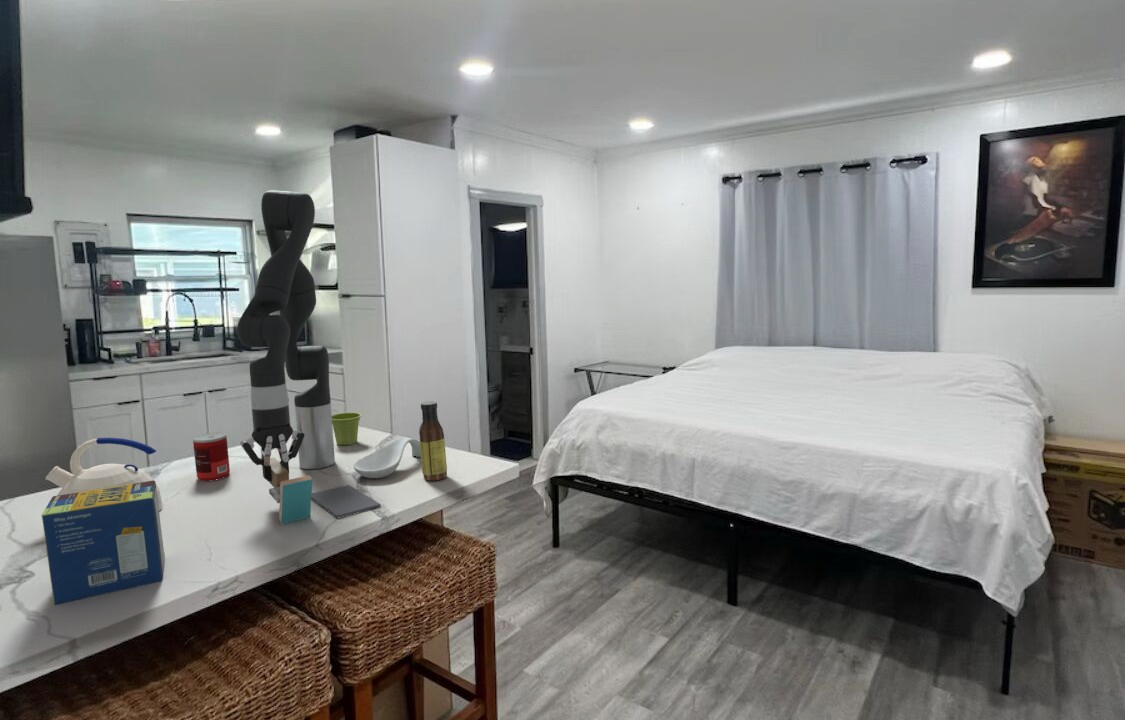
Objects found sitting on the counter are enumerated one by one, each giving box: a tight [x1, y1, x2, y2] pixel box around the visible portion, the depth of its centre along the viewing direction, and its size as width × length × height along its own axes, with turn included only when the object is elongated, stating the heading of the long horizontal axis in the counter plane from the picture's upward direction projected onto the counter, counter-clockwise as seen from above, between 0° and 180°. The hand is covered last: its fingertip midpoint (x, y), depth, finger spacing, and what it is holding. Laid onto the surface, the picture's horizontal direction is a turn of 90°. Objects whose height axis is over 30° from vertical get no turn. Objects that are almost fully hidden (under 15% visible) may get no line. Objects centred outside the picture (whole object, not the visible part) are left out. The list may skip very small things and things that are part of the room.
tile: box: [278, 474, 313, 525], centre depth 134 cm, size 2×6×10 cm, turn 131°
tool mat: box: [311, 484, 381, 519], centre depth 146 cm, size 18×10×1 cm, turn 41°
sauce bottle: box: [418, 400, 448, 482], centre depth 161 cm, size 7×6×20 cm
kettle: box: [45, 437, 164, 512], centre depth 139 cm, size 20×21×18 cm
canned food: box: [192, 432, 231, 482], centre depth 165 cm, size 8×8×11 cm
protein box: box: [41, 480, 166, 605], centre depth 109 cm, size 10×15×16 cm
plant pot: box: [332, 412, 362, 446], centre depth 196 cm, size 9×9×9 cm
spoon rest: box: [353, 437, 421, 479], centre depth 170 cm, size 24×12×7 cm, turn 156°
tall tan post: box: [268, 457, 290, 504], centre depth 140 cm, size 16×6×4 cm, turn 41°
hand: (276, 478), depth 143 cm, fingers closed on tall tan post, 2 cm apart
